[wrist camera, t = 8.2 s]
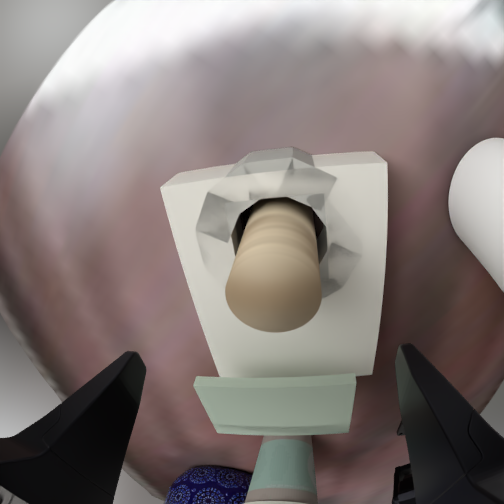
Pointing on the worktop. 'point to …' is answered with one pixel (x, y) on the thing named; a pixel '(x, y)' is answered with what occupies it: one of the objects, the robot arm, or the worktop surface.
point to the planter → (209, 486)
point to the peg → (276, 268)
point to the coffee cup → (284, 472)
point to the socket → (328, 246)
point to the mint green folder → (278, 404)
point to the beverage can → (481, 204)
